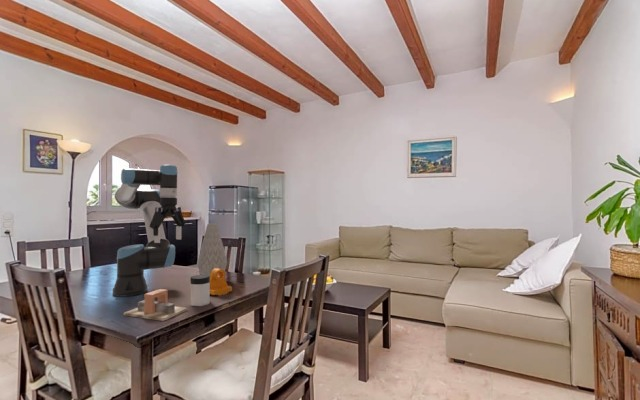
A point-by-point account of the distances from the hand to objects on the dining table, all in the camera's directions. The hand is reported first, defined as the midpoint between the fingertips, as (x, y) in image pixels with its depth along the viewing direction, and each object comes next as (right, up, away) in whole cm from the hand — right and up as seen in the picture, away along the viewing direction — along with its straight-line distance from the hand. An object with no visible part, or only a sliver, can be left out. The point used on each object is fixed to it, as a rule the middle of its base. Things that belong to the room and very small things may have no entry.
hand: (168, 241), depth 160 cm
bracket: (+23, -27, +4) cm, 36 cm away
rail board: (+6, -26, -25) cm, 37 cm away
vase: (+12, -27, +28) cm, 41 cm away
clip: (+6, -25, -25) cm, 36 cm away
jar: (+20, -27, -12) cm, 35 cm away
